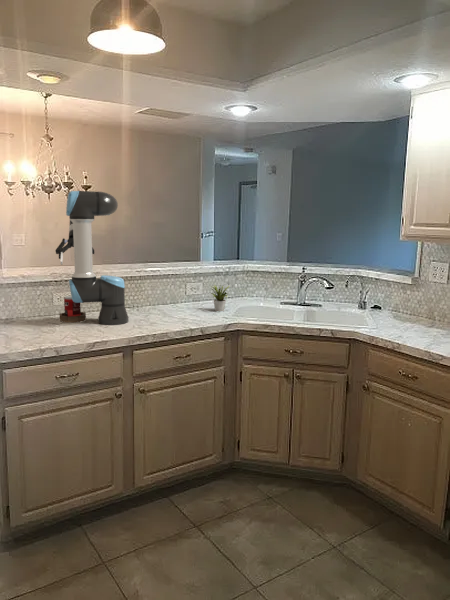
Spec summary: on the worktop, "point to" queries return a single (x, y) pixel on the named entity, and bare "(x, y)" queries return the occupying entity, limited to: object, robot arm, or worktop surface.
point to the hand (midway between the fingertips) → (74, 263)
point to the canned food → (71, 307)
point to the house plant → (219, 298)
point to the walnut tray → (72, 318)
